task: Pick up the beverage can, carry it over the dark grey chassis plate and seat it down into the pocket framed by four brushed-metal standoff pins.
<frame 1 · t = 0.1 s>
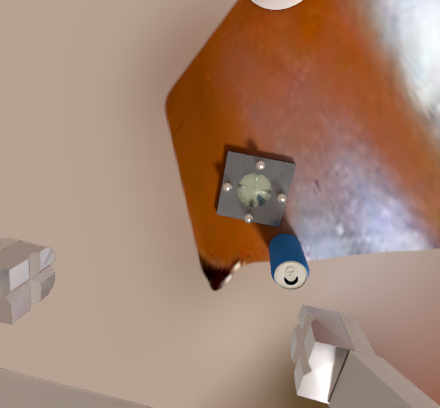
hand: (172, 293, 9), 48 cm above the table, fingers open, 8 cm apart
chassis: (254, 188, 57), on the table
beverage can: (284, 246, 59), on the table
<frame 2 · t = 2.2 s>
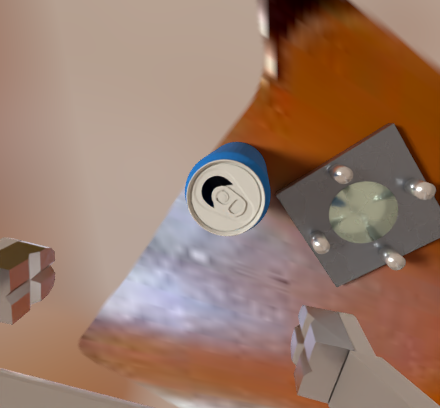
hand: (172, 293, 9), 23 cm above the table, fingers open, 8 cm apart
chassis: (358, 209, 31), on the table
beverage can: (237, 170, 32), on the table
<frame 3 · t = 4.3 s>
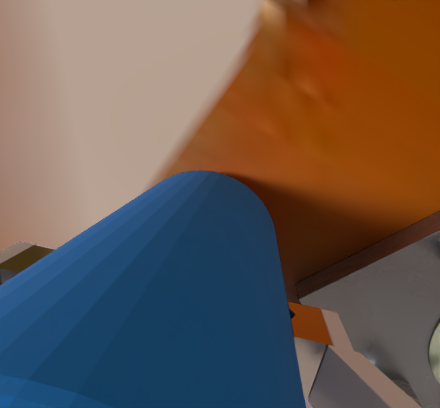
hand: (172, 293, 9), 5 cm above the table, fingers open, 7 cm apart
beverage can: (206, 233, 14), on the table, touching gripper
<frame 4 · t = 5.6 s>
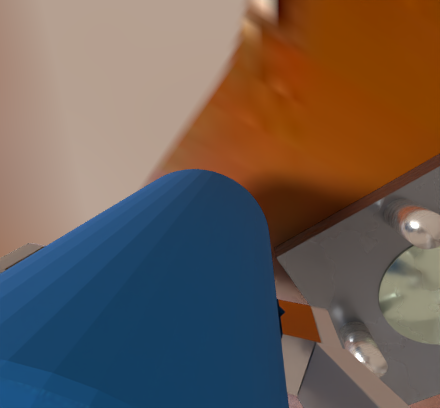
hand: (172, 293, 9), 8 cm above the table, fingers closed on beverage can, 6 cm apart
chassis: (432, 279, 16), on the table
beverage can: (201, 231, 14), point 3 cm above the table, touching gripper
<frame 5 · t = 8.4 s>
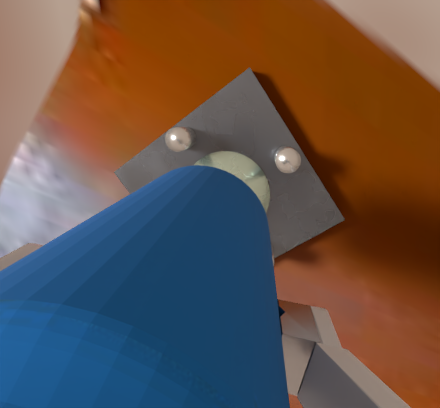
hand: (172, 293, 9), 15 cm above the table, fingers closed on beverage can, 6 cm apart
chassis: (227, 191, 23), on the table
beverage can: (204, 225, 14), point 9 cm above the table, touching gripper
when the fingers open (7 cm above the table, at t = 11.5 s): beverage can stays where it is, resting on chassis.
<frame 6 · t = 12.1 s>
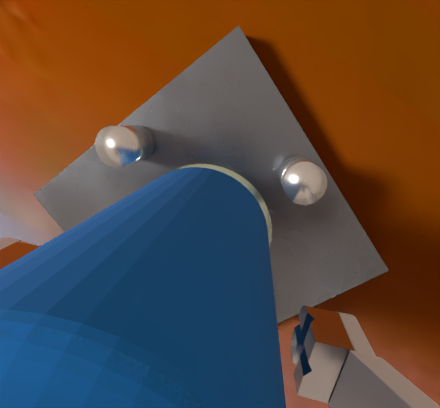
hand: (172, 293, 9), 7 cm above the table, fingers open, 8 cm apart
chassis: (207, 222, 15), on the table
beverage can: (202, 227, 14), point 1 cm above the table, touching chassis
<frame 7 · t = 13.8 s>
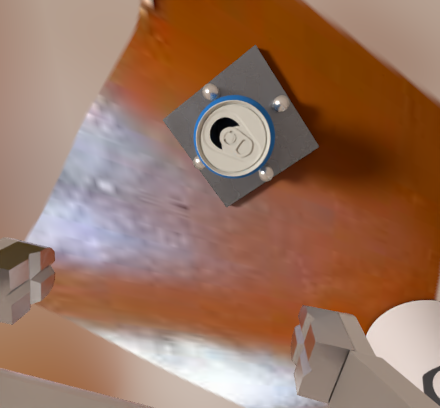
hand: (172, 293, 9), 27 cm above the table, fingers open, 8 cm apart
chassis: (240, 132, 34), on the table
beverage can: (239, 131, 33), point 1 cm above the table, touching chassis
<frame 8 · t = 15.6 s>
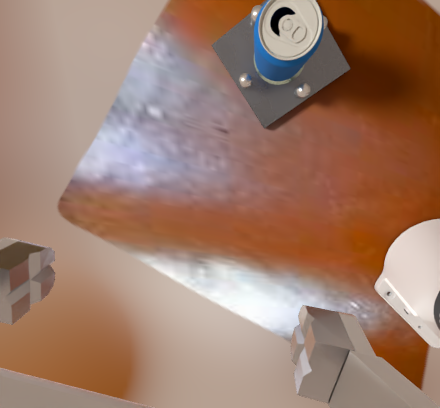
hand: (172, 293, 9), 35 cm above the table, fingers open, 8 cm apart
chassis: (279, 58, 38), on the table
beverage can: (279, 55, 37), point 1 cm above the table, touching chassis
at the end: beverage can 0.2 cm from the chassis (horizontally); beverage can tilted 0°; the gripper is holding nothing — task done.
